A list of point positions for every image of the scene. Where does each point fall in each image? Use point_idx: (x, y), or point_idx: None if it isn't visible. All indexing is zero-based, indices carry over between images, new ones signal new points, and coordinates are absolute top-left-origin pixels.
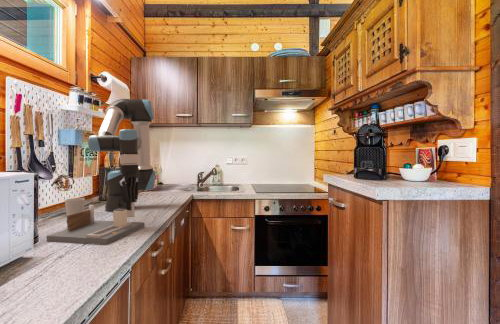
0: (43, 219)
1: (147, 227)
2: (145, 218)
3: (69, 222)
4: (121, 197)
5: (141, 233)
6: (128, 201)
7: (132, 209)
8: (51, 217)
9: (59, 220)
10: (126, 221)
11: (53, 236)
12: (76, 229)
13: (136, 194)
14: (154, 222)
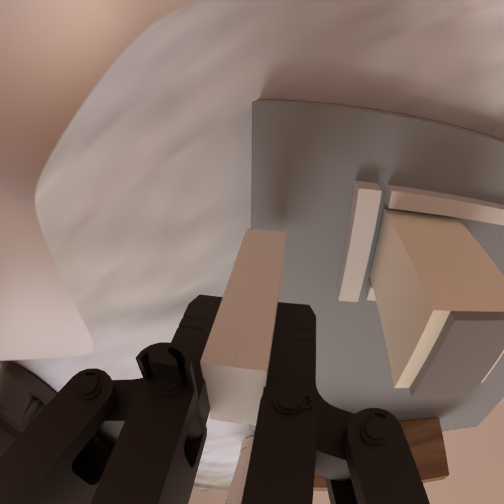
0: (223, 490)
1: (272, 61)
2: (56, 239)
3: (443, 447)
4: (19, 423)
5: (450, 38)
6: (381, 419)
7: (273, 289)
8: (199, 485)
9: (222, 476)
10: (404, 227)
11: (492, 408)
12: (422, 411)
13: (61, 456)
14: (112, 103)
